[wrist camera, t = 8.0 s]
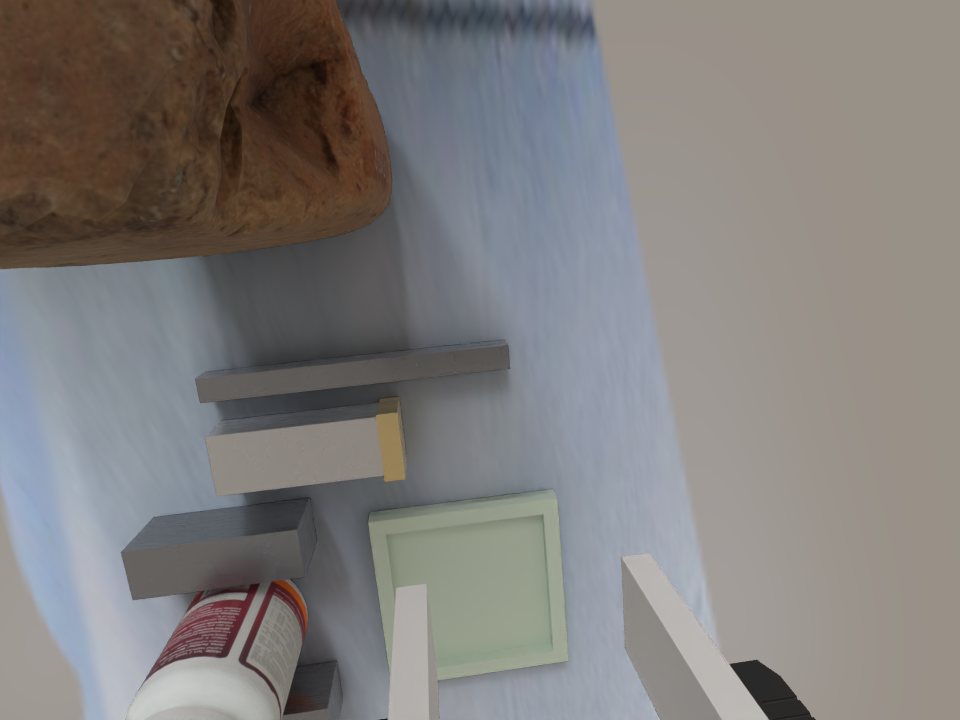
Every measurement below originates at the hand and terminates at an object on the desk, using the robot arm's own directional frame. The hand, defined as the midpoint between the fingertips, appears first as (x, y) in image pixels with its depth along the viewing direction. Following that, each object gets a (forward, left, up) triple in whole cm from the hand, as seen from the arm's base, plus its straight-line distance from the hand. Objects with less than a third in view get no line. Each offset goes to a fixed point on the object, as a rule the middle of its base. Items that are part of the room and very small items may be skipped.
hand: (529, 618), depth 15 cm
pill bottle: (+10, -13, -17) cm, 23 cm away
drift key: (0, -9, -17) cm, 19 cm away
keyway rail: (-3, -5, -17) cm, 18 cm away
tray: (+10, -1, -17) cm, 19 cm away
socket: (+10, -13, -17) cm, 23 cm away
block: (-13, -8, -17) cm, 23 cm away
